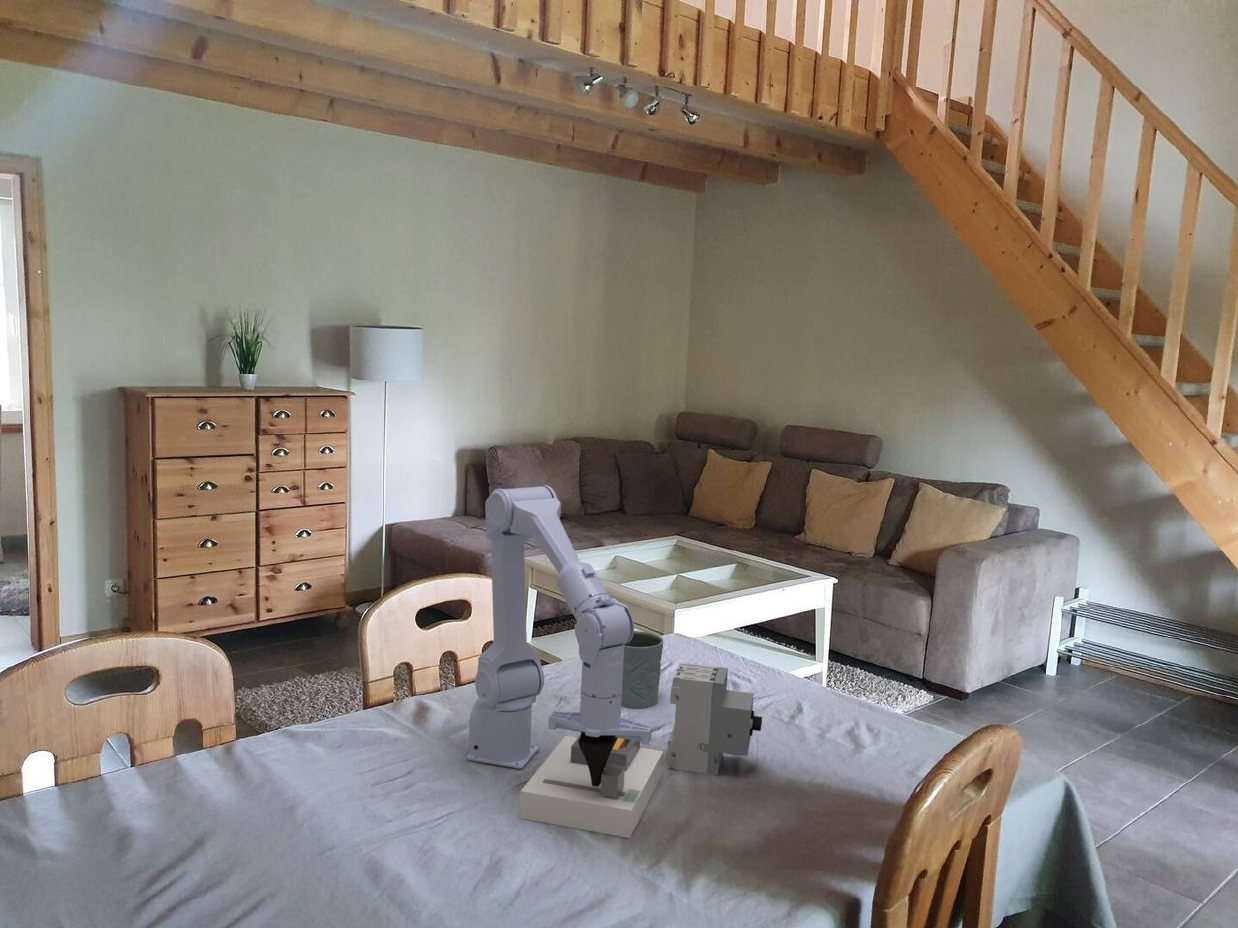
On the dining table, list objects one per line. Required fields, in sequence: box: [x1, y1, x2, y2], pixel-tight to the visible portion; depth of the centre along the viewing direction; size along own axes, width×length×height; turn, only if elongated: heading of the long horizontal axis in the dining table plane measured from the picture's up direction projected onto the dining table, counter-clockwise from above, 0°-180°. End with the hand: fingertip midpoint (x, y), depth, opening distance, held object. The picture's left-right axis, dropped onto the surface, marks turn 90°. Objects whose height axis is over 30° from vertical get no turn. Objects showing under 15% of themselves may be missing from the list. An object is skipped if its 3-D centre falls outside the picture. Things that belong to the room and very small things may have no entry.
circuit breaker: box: [666, 662, 763, 776], centre depth 153 cm, size 8×14×15 cm, turn 78°
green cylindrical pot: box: [621, 630, 664, 710], centre depth 179 cm, size 10×10×12 cm
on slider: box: [601, 764, 625, 798], centre depth 134 cm, size 2×4×3 cm, turn 165°
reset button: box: [612, 738, 625, 752], centre depth 146 cm, size 5×5×2 cm
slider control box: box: [519, 733, 664, 839], centre depth 141 cm, size 16×20×6 cm
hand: (597, 783), depth 135 cm, fingers closed
